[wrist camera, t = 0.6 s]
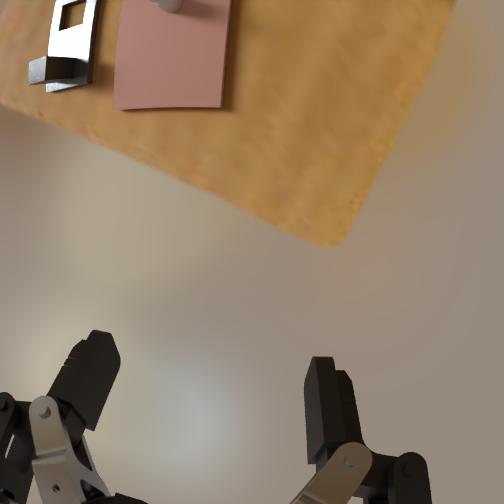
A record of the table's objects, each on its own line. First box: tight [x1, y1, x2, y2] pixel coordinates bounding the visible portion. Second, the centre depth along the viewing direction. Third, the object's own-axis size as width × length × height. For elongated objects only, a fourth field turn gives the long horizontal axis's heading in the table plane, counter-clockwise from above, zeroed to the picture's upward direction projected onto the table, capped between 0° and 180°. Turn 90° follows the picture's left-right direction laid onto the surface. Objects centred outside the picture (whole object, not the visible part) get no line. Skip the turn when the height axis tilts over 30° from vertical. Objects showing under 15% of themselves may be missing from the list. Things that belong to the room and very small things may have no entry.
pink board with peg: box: [113, 0, 232, 110], centre depth 22 cm, size 18×13×8 cm
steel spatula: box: [28, 0, 101, 93], centre depth 21 cm, size 15×7×7 cm, turn 175°
